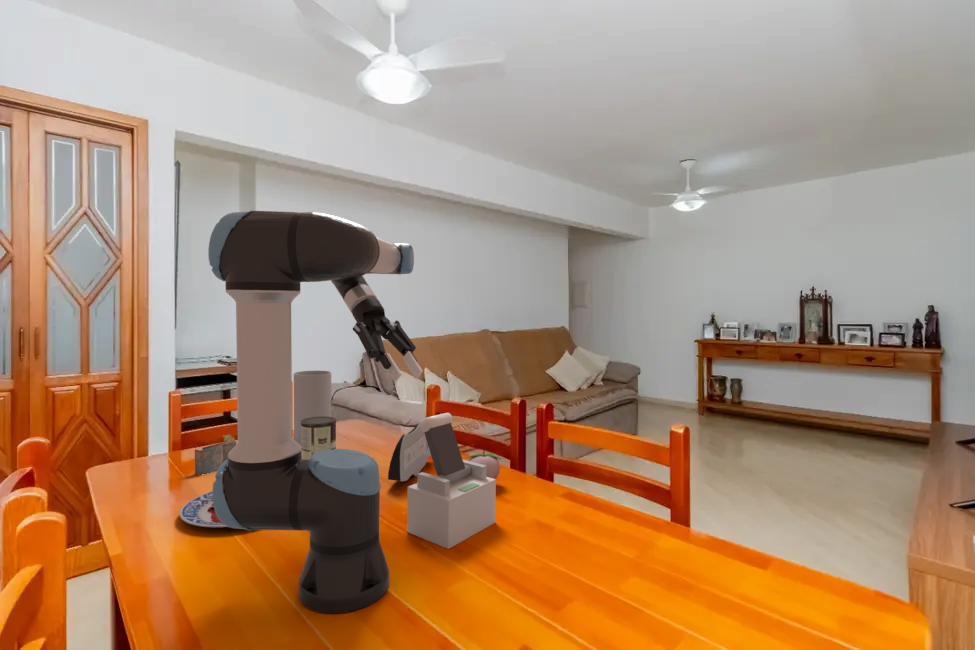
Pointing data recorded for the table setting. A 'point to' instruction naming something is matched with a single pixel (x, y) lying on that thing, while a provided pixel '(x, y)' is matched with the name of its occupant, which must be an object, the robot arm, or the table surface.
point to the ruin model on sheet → (213, 455)
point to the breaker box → (451, 506)
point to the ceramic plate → (201, 512)
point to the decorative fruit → (487, 463)
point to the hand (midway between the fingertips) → (408, 376)
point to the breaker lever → (444, 447)
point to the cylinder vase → (311, 397)
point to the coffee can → (317, 435)
